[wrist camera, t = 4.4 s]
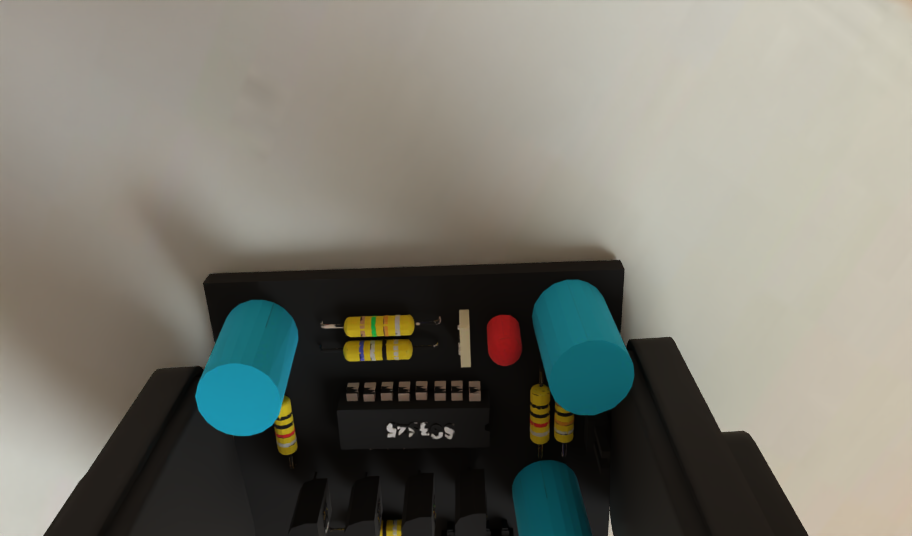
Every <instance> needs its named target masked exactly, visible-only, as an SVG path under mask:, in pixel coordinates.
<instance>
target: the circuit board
mask: <svg viewBox="0 0 912 536" xmlns="http://www.w3.org/2000/svg"><path fill="white" fill-rule="evenodd" d="M624 270H625V269H624V267H623V265H622V263H621V261H620V260H611V261H581V262H551V263H521V264H491V265H462V266H432V267H402V268H372V269H343V270H313V271H283V272H253V273H223V274H209V276H208V277H207V279H206V280H205V281H204V283H203V285H204V290H205V295H206V300H207V305H208V310H209V316H210V321H211V326H212V331H213V336H214V341H215V346H214V348H213V350H212V353H211V355H210V357H209V360H208V362H207V364H206V367H205V369H204V371H203V374H202V376H201V378H200V380H199V383H198V386H197V391H196V395H195V398H196V402H197V406H198V410H199V412H200V413H201V415H202V416H203V417H204V419H205V420H206V421H207V423H209V424H210V425H211V426H213V427H214V428H215V429H217V430H219V431H222V432H224V433H226V434H230V435H233V437H234V442H235V446H236V450H237V454H238V458H239V463H240V467H241V471H242V475H243V479H244V483H245V487H246V491H247V496H248V500H249V504H250V508H251V512H252V516H253V520H254V525H255V536H608V524H609V508H610V463H611V409H612V408H614V407H615V406H616V405H617V404H619V403H620V402H621V401H622V400H623V399H624V398H625V397H626V396H627V394H628V392H629V391H630V389H631V387H632V384H633V380H634V365H633V362H632V360H631V358H630V356H629V353H628V351H627V349H626V347H625V344H624V342H623V340H622V338H621V336H620V334H621V318H622V302H623V286H624Z"/></svg>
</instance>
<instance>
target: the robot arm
mask: <svg viewBox="0 0 912 536" xmlns="http://www.w3.org/2000/svg"><path fill="white" fill-rule="evenodd" d="M626 349H627V351H628V353H629V356H630V358H631V360H632V362H633V365H634V380H633V384H632V387H631V389H630V391H629V392H628V394H627V396H626V397H625V398H624V399H623V400H622V401H621V402H620V403H619V404H617V405H616V406H615V407H614V408H612V409H611V463H610V517H611V525H612V531H613V535H614V536H808V534H807V532H806V530H805V529H804V527H803V525H802V523H801V522H800V520H799V518H798V516H797V515H796V513H795V511H794V509H793V508H792V506H791V504H790V502H789V501H788V499H787V497H786V495H785V494H784V492H783V490H782V488H781V487H780V485H779V483H778V481H777V480H776V478H775V476H774V474H773V473H772V471H771V469H770V467H769V466H768V464H767V462H766V460H765V459H764V457H763V455H762V453H761V452H760V450H759V448H758V446H757V445H756V443H755V441H754V440H753V439H752V437H751V436H750V435H749V434H748V433H746V432H744V431H736V432H721V431H720V429H719V427H718V425H717V423H716V421H715V419H714V417H713V415H712V413H711V411H710V409H709V407H708V406H707V404H706V402H705V400H704V398H703V396H702V394H701V392H700V390H699V388H698V386H697V384H696V382H695V380H694V378H693V377H692V375H691V373H690V371H689V369H688V367H687V365H686V363H685V361H684V359H683V357H682V355H681V353H680V351H679V349H678V348H677V346H676V344H675V342H674V340H673V339H672V338H671V337H662V338H646V339H629V341H628V343H627V348H626ZM203 371H204V369H203V368H202V367H200V366H194V367H178V368H162V369H157V370H156V371H155V372H154V373H153V374H152V376H151V377H150V379H149V380H148V382H147V383H146V385H145V386H144V388H143V389H142V391H141V392H140V394H139V395H138V397H137V398H136V400H135V401H134V403H133V404H132V406H131V407H130V409H129V410H128V412H127V413H126V415H125V416H124V418H123V419H122V421H121V422H120V424H119V425H118V427H117V428H116V430H115V431H114V433H113V434H112V436H111V437H110V439H109V440H108V442H107V443H106V445H105V446H104V448H103V449H102V451H101V452H100V454H99V455H98V457H97V458H96V460H95V461H94V463H93V464H92V466H91V467H90V469H89V470H88V472H87V473H86V475H85V476H84V477H83V478H82V479H81V480H80V481H79V483H78V484H77V486H76V487H75V489H74V490H73V492H72V493H71V495H70V496H69V498H68V499H67V501H66V502H65V504H64V505H63V507H62V508H61V510H60V511H59V513H58V514H57V516H56V517H55V519H54V520H53V522H52V523H51V525H50V526H49V528H48V529H47V531H46V532H45V534H44V535H43V536H255V525H254V520H253V516H252V512H251V508H250V504H249V500H248V496H247V491H246V487H245V483H244V479H243V475H242V471H241V467H240V463H239V458H238V454H237V450H236V446H235V442H234V438H233V435H230V434H226V433H224V432H222V431H219V430H217V429H215V428H214V427H213V426H211V425H210V424H209V423H207V421H206V420H205V419H204V417H203V416H202V415H201V413H200V412H199V410H198V406H197V402H196V398H195V395H196V391H197V386H198V383H199V380H200V378H201V376H202V374H203Z"/></svg>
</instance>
